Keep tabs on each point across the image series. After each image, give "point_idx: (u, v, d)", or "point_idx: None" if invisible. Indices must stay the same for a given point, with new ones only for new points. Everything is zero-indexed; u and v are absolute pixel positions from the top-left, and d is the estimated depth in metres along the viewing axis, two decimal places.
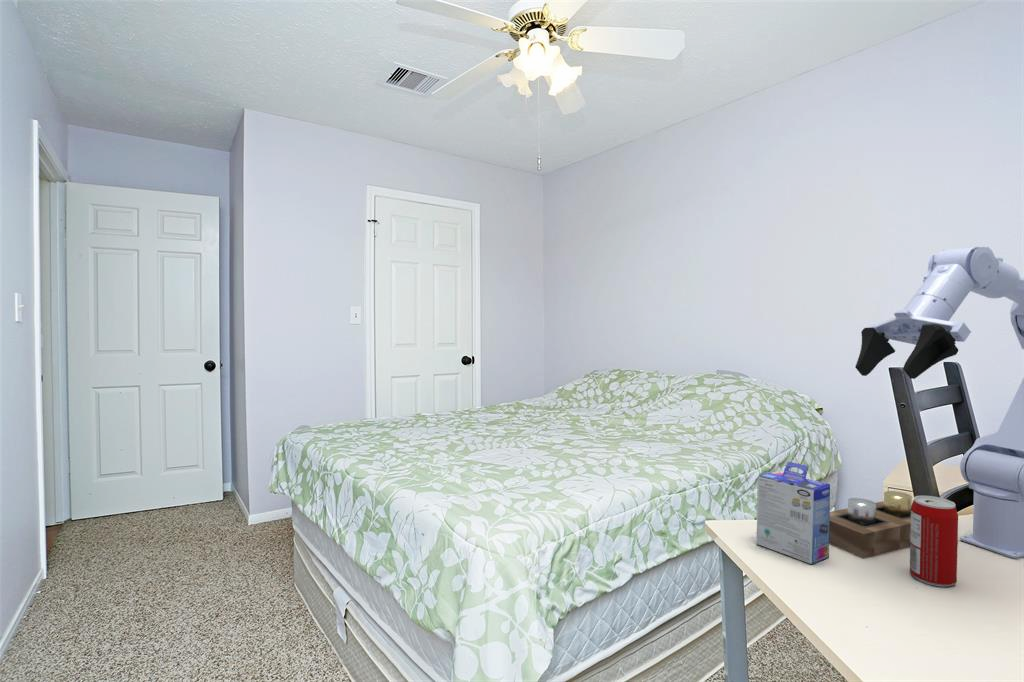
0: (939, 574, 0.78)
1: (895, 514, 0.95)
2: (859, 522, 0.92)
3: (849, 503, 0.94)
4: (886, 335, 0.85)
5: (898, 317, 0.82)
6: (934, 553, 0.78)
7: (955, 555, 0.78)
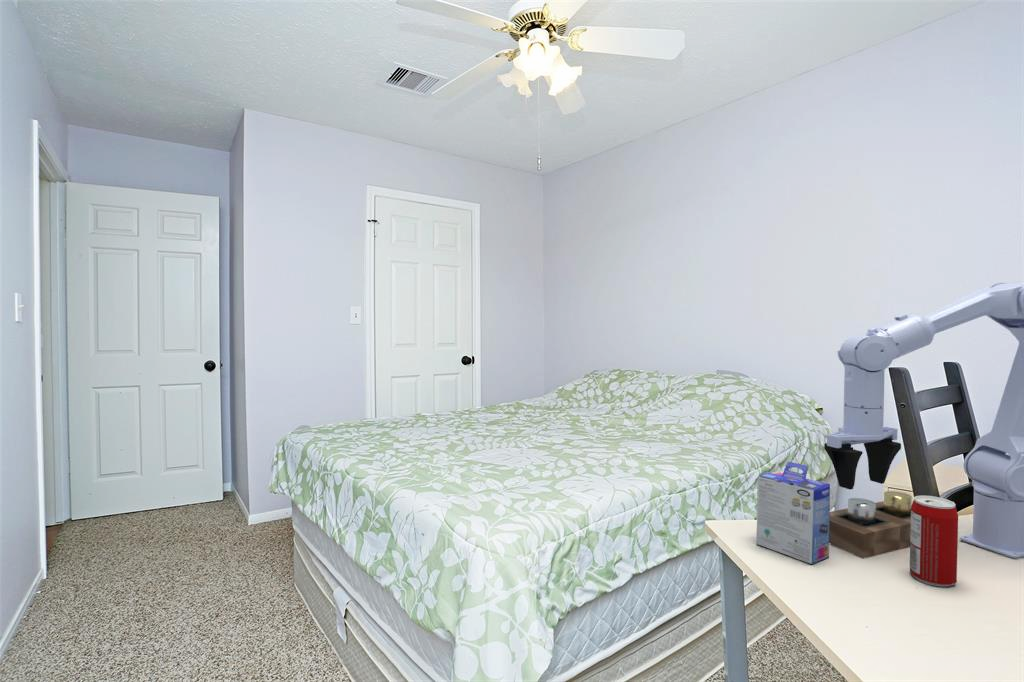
0: (939, 574, 0.78)
1: (895, 514, 0.95)
2: (859, 522, 0.92)
3: (849, 503, 0.94)
4: None
5: None
6: (934, 553, 0.78)
7: (955, 555, 0.78)
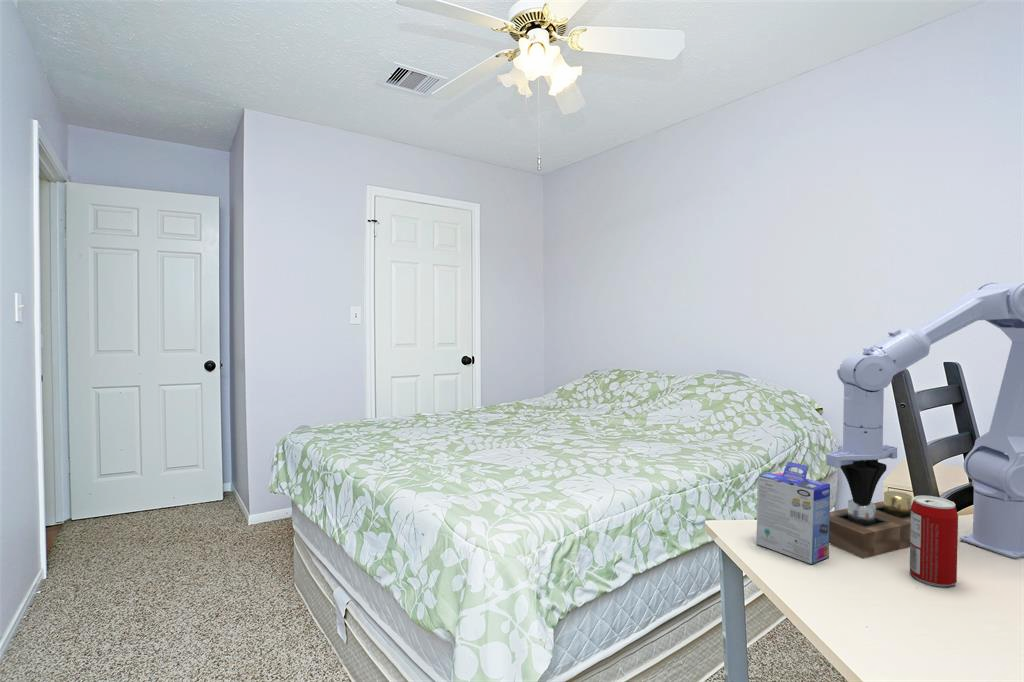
0: (939, 574, 0.78)
1: (895, 514, 0.95)
2: (859, 523, 0.92)
3: (849, 504, 0.94)
4: None
5: None
6: (934, 553, 0.78)
7: (955, 555, 0.78)
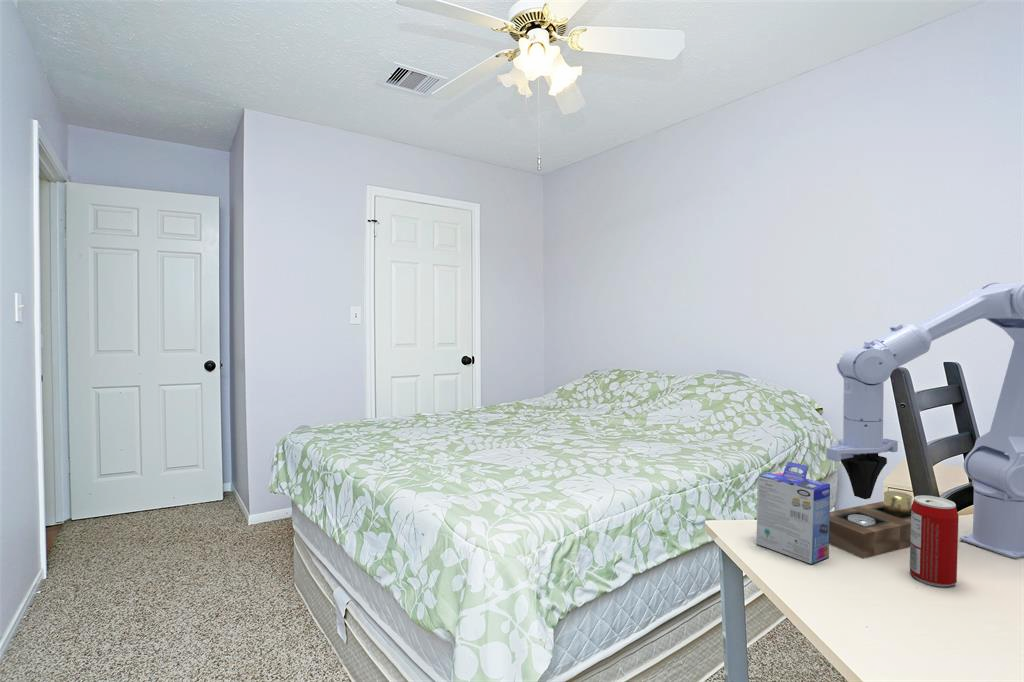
0: (939, 574, 0.78)
1: (895, 514, 0.95)
2: None
3: None
4: None
5: None
6: (935, 553, 0.78)
7: (955, 555, 0.78)
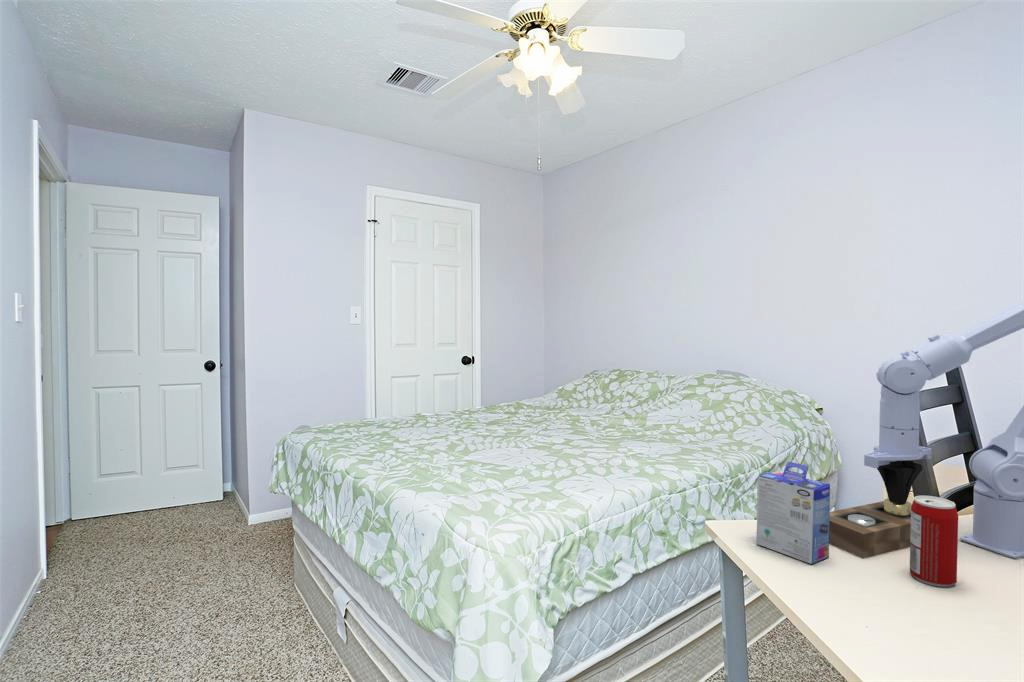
0: (939, 574, 0.78)
1: None
2: None
3: None
4: None
5: None
6: (934, 553, 0.78)
7: (955, 555, 0.78)
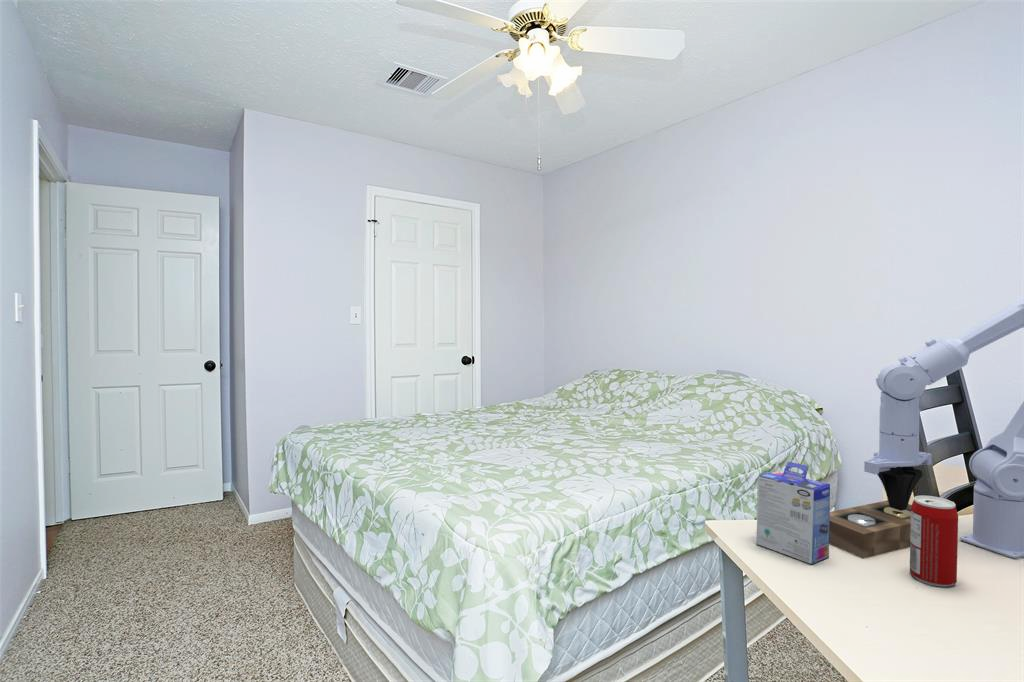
0: (939, 574, 0.78)
1: None
2: None
3: None
4: None
5: None
6: (934, 553, 0.78)
7: (955, 555, 0.78)
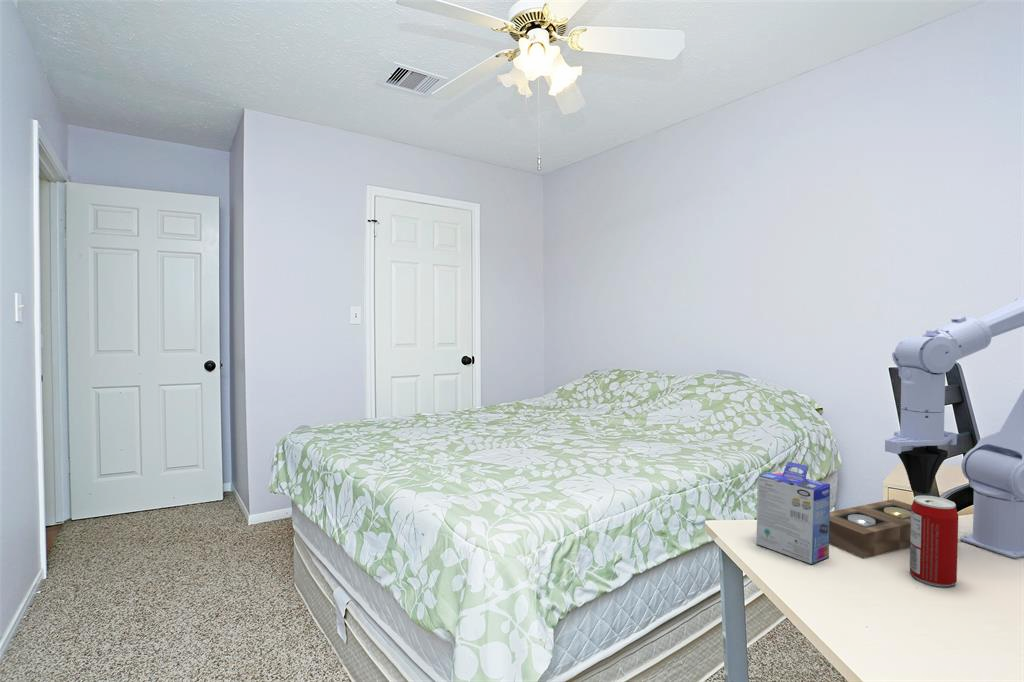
0: (939, 574, 0.78)
1: None
2: None
3: None
4: None
5: None
6: (935, 553, 0.78)
7: (955, 555, 0.78)
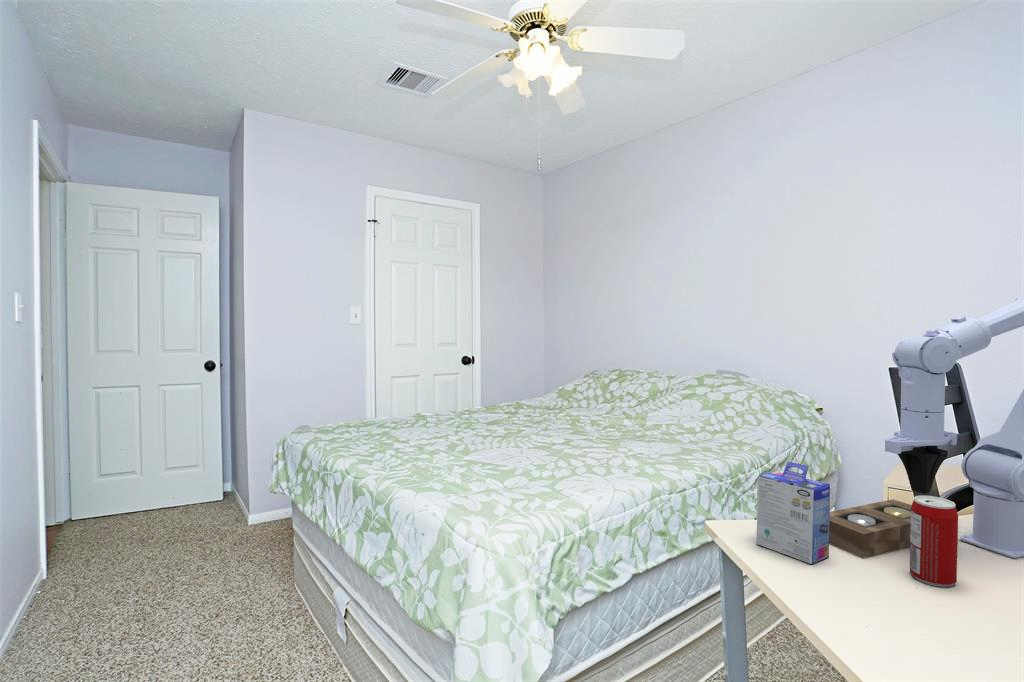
0: (939, 574, 0.78)
1: None
2: None
3: None
4: None
5: None
6: (935, 553, 0.78)
7: (955, 555, 0.78)
